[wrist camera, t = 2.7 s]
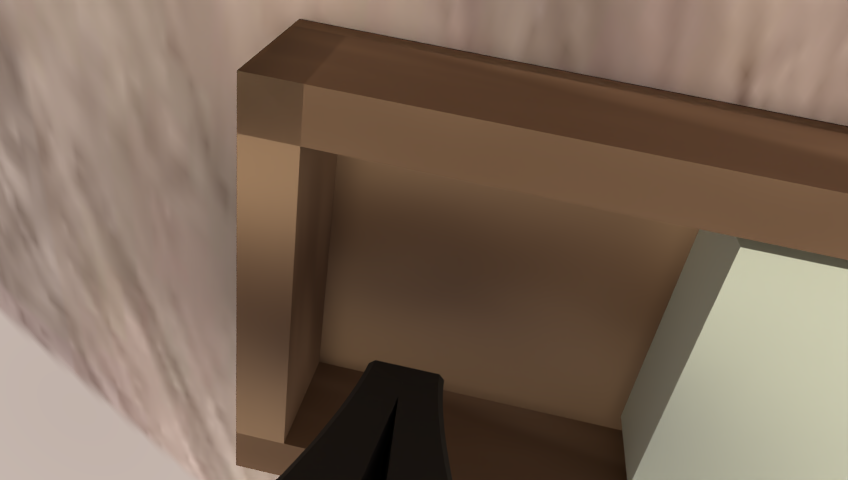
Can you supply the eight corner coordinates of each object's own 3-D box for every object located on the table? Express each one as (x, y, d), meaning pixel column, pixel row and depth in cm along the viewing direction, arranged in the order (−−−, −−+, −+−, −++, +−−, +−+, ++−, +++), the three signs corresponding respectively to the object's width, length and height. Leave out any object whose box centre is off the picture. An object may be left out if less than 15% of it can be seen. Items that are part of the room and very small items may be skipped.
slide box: (904, 513, 20) (964, 637, 17) (281, 371, 21) (236, 465, 18) (1168, 189, 14) (1327, 290, 11) (299, 19, 15) (237, 70, 12)
